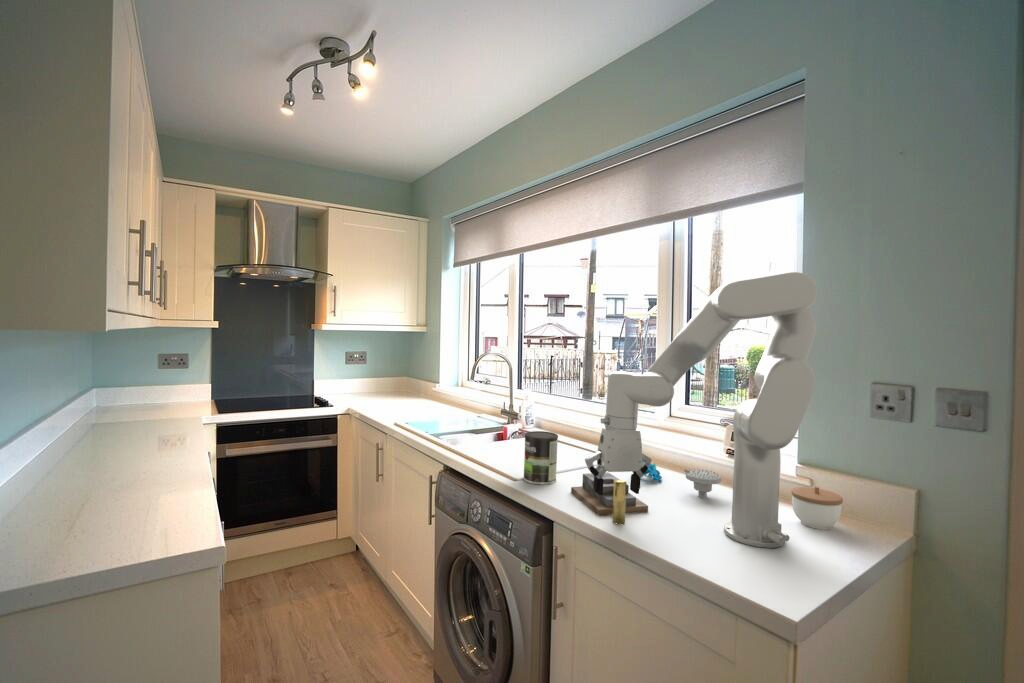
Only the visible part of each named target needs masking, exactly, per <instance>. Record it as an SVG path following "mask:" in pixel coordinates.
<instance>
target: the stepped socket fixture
mask: <svg viewBox="0 0 1024 683" xmlns="http://www.w3.org/2000/svg"><path fill="white" fill-rule="evenodd" d="M602 479H603V480H604V481H603V494H602V495H598V494H597V493H596V492H595V490H594V488H593V486H594V475H593V474H592V473H591V472H588V473H582V486H571V487H570V493H571V494H572V495H574V496H575V497H576V498H577V499H578V500H580V501H581V502H582V503H583V504H584V505H585V506H586V507H588V508H589V509H590V510H591V511H592V512H593V513H595V514H596V515H597V516H598V515H599V516H609V514H612V515H613V489H614V480H621V479H619V478H618V477H617V476H615V475H613V474H611V472H608V471H606V472H605V474H604V475H603V476H602ZM629 490H630V484H627V483H626V509H625V514H634V513H633V512H637V513H645V512H644V511H648V512H649V505H647V503H644V502H643V501H642V500H640V499H639V498H637V497H636V496H634V495H633V494H631V493H630V492H629Z"/></svg>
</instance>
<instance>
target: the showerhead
mask: <svg viewBox="0 0 1024 683" xmlns="http://www.w3.org/2000/svg"><path fill="white" fill-rule="evenodd" d="M683 471H684V472H685V479H687V480H688V481H690V482H693V489H694V490H695V491H697V492H698V495H697V496H698V497H699V496H700V498H707V493H709V492H710V493H711V492H712V490H713V485H718V484H720V483H721V482H722V476H721V475H720V474H718V473H716V472H715V471H709V470H706V469H705V470H704V469H699V468H697V469H695V468H694V469H691V470H689V469H686V468H685V469H683Z"/></svg>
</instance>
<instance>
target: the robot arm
mask: <svg viewBox="0 0 1024 683" xmlns="http://www.w3.org/2000/svg"><path fill="white" fill-rule="evenodd" d="M817 286H818V285H817V284H816V281H815V280H814V279H813V278H812V277H811V276H810V275H807V274H806V273H803V272H799V271H797V272H796V271H794V272H793V271H791V272H785V273H780V274H775V275H769V276H762V277H758V278H751V279H744V280H736V281H732V282H728V283H725V284H724V285H721V286H719V287H718V288H717V289H715V290H714V291H713V292H712V294H711V295H709V297H708V298H707V300H706V301H705V302H704V303H703V304H702V305H701V306H700V308H699V309H698V310H697V311H696V313H695V314H694V315H693V316H692V317H691V318H690V320H689V321H688V322H687V323H686V324H685V326H684V327H683V328H682V329H681V330H680V331H679V332H678V334H677V335H676V336H675V337H674V339H673V340H671V342H670V343H669V345H668V346H667V347H666V348H665V349H664V350H663V352H662V353H661V354H660V355H659V356H658V357H657V358H656V359H655V361H654V362H653V363H652V364H651V365H650V367H648V369H647V370H646V371H645V372H644V374H642V375H641V374H639V375H638V374H637V373H635V372H630V371H619V370H618V371H612V372H610V373H609V374H608V377H607V390H606V392H607V393H606V403H605V404H606V407H605V408H606V409H605V414H604V417H601V418H600V424H604V426H603V427H602V429H601V432H600V435H599V440H598V447H597V451H596V452H595V453H594V452H593V453H592V454H591V455H589V456H587V457H586V458H584V461H585V464H586V467H587V469H588V471H589V473H592V474H593V475H594V486H593V488H594V490H595V492H596V493H597V494H598V495H602V494H603V481H604V480H603V479H602V476H603V475H604V474H605V473H606V472H608V473H627V472H632V473H631V474H630V484H629V490H630V491H631V492H632V493H634V494H636V495H638V494H640V489H641V479H642V478H644V475H643V474H644V473H645V472H646V471H647V469H648V466H649V465H650V463H651V464H652V460H653V459H652V458H651V457H649V456H647V455H646V454H644V453H643V445H642V443H643V442H642V435H641V430H640V428H639V429H638V414H639V413H638V412H639V404H643V405H647V406H651V407H655V408H656V407H663V406H667V405H668V404H669V403H671V401H672V400H673V398H674V396H675V389H674V387H675V385H676V384H677V383H678V382H679V380H681V378H683V376H684V375H685V374H686V373H687V372H688V371H689V370H690V369H691V368H693V367H694V366H695V365H697V364H699V363H700V362H702V361H703V360H705V359H707V357H709V356H710V355H711V354H712V353H713V352H714V351H715V350H716V348H717V347H718V346H719V345H720V343H721V342H722V341H723V340H724V339H725V338H726V337H727V336H728V334H729V333H730V332H731V331H732V330H733V329H734V328H735V327H736V326H737V324H739V322H740V321H741V320H744V321H745V320H751V319H758V318H765V317H771V320H772V328H771V332H770V334H769V338H768V341H767V343H766V346H765V348H764V351H763V354H762V356H761V357H760V358H761V359H760V361H759V362H758V364H757V367H756V370H755V372H754V377H753V378H754V383H755V385H756V387H757V388H758V389H759V390H760V392H759V394H758V396H757V398H750V399H747V400H744V401H743V402H741V403H740V404H739V405H738V406H737V408H736V409H735V411H734V413H733V420H732V429H733V442H734V443H733V445H734V450H733V452H734V453H733V454H734V455H733V473H732V474H733V476H732V478H733V479H732V481H733V482H732V504H731V505H732V506H731V508H732V509H731V521H729V522H727V523H725V524H724V527H723V532H724V534H725V535H727V537H729V539H730V538H731V540H734V541H736V542H738V543H741V544H744V545H748V546H751V547H757V548H766V549H767V548H770V549H772V548H778V547H783V546H784V545H785V544H786V542H788V541H789V540H790V535H789V534H787V533H785V532H782V525H783V524H782V523H780V522H779V506H780V505H779V504H780V481H781V480H780V479H781V478H780V476H781V462H782V461H781V449H783V448H786V447H787V446H788V445H790V443H791V442H793V440H794V438H795V437H796V435H797V433H798V431H799V429H800V426H801V424H802V422H803V420H804V417H805V414H807V410H808V408H809V406H810V404H811V400H812V399H813V396H814V392H815V388H816V375H815V373H814V370H813V369H812V367H811V366H810V365H809V364H808V363H807V360H808V357H809V355H810V353H811V352H810V351H811V349H812V346H813V342H814V340H815V337H816V329H817V328H816V327H817V326H816V320H815V316H814V314H813V312H812V309H811V306H812V305H813V304H814V303H815V301H816V300H817V296H818V293H819V292H818V287H817ZM642 460H643V463H642ZM594 462H596V463H597V466H596V467H595V466H594Z"/></svg>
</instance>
